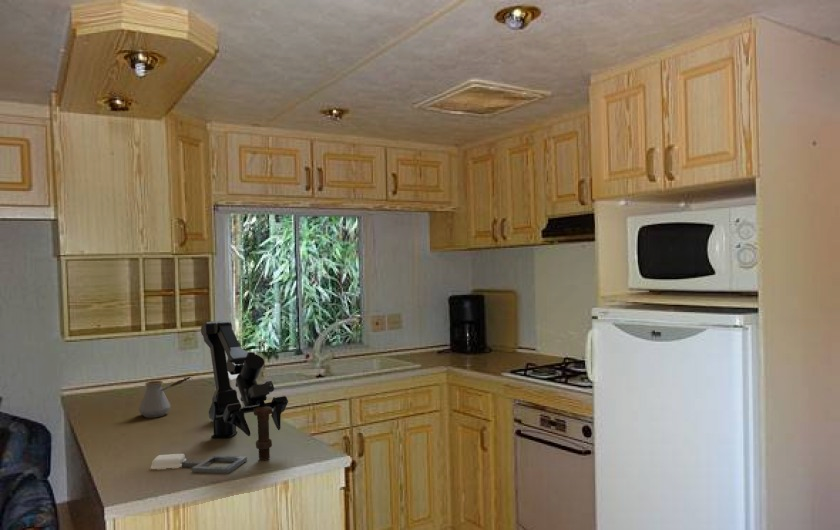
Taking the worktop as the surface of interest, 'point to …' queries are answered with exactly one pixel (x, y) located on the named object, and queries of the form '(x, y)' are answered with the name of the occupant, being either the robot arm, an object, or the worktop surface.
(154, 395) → the coffee pot
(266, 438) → the bolt
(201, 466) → the socket plate
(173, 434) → the worktop surface
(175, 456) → the soap
